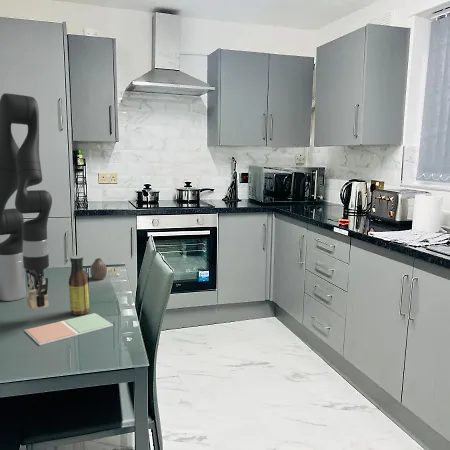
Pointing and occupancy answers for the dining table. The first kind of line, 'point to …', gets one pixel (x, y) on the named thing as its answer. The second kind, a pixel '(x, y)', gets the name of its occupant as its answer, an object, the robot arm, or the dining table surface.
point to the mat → (67, 328)
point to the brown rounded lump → (98, 269)
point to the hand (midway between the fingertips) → (37, 303)
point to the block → (35, 299)
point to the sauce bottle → (78, 287)
